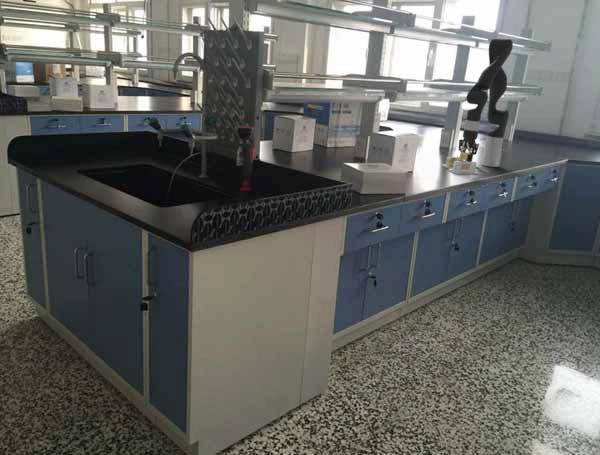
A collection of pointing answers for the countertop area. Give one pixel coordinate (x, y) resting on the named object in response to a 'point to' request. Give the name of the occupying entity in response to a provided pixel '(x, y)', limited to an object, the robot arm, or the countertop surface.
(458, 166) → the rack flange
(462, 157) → the u clip
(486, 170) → the caliper
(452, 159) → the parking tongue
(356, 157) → the countertop surface
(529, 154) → the countertop surface
